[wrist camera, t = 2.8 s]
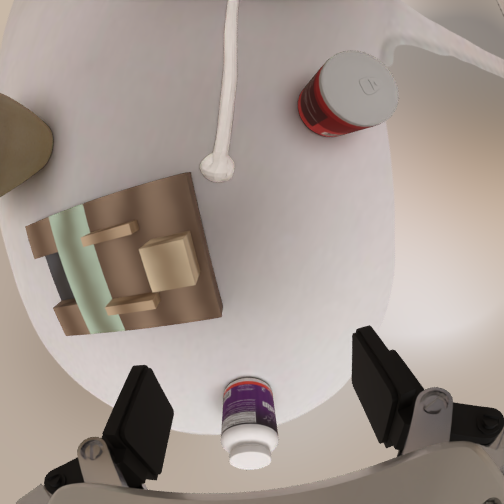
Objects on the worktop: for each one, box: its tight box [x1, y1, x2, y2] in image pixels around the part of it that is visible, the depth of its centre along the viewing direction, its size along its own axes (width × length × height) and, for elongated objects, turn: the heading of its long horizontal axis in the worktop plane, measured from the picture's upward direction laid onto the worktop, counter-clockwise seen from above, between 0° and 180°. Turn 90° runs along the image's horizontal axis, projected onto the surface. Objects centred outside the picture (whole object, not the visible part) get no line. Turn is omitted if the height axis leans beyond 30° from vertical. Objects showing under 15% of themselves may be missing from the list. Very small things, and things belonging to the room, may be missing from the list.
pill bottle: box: [221, 378, 279, 470], centre depth 35 cm, size 8×8×14 cm
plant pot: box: [0, 93, 53, 197], centre depth 22 cm, size 15×15×16 cm
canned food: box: [298, 51, 398, 137], centre depth 25 cm, size 8×8×11 cm
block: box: [139, 231, 201, 292], centre depth 30 cm, size 5×5×4 cm
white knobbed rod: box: [200, 0, 239, 182], centre depth 27 cm, size 28×4×3 cm, turn 179°
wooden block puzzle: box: [25, 172, 223, 336], centre depth 32 cm, size 26×18×6 cm
